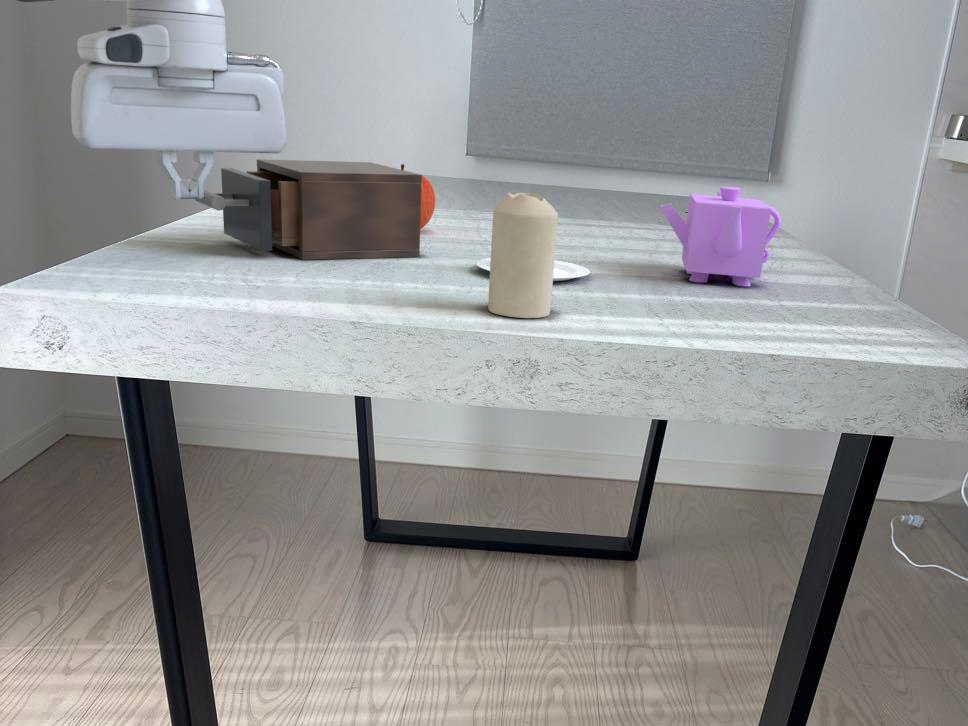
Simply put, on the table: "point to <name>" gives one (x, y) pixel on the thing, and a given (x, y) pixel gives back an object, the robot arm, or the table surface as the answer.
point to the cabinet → (353, 209)
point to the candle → (522, 256)
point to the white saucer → (560, 269)
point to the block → (274, 209)
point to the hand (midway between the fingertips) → (187, 198)
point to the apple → (426, 201)
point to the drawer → (257, 207)
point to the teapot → (724, 235)
